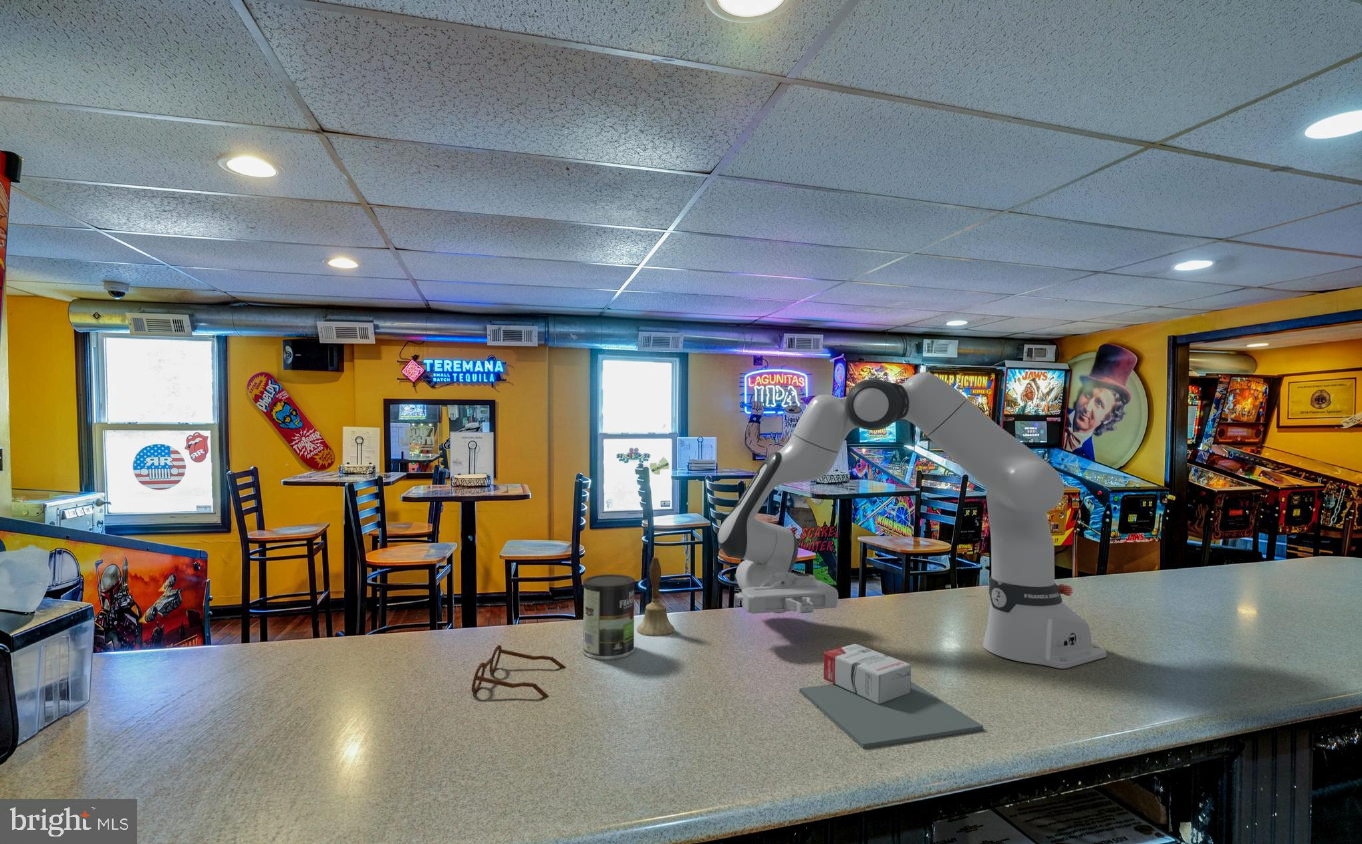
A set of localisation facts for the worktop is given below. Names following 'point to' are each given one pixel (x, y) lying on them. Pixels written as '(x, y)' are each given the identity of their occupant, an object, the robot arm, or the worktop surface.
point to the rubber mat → (889, 715)
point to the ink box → (867, 673)
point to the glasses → (507, 684)
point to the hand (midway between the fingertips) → (806, 608)
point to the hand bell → (655, 608)
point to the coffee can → (608, 616)
